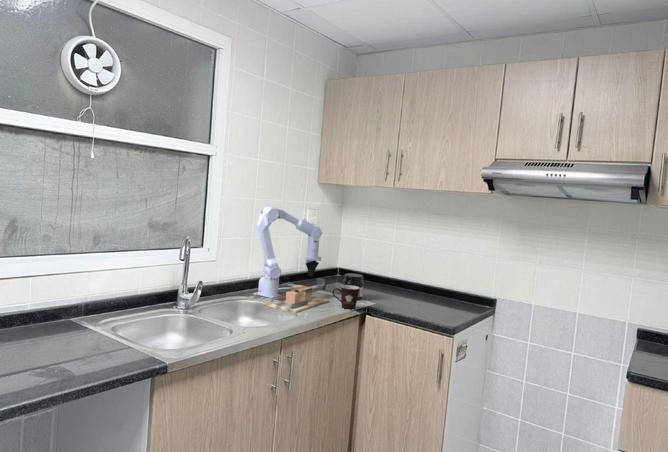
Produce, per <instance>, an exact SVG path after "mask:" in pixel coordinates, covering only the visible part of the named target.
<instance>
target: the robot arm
mask: <svg viewBox="0 0 668 452" xmlns="http://www.w3.org/2000/svg"><path fill="white" fill-rule="evenodd" d="M277 220H284V221H287V222H288V223H290V224H292V225H294V226H295V229H297V231H298V230H299V231H300V232H302V233H304V234H306V235H308V237H307V238H308V239H307V249H306V257H305V258H303V259H302V264H305V267H306V268H307V275H308V276H309V277H314V274H315V272H316V270H317V267H318V265H319V264H320V263H319V262H321V261H322V257H321V256H319V248H320V239H321V236H322V234H323V232H322V230H321V227H318V226H316V225H315V224H314V223H311V222H309V221H307V219H306V218H299V219H298V218H297V217H295V216H294V215H292V214H290V213H288V212H287V211H284V210H282V209H279V208H277V207H274V206H270V205H267V206H264V207H263V208H261V211H260V212H259V217H258V220H257V225H256V227H257V231H258V236H259V240H260V244H261V251H262V253H263V254H262V255H263V258H264V261H263V265H264V267H263V272H264V276H262V277H260V279H259V281H258V292H257V293H256V295H258V296H261V297H266V298H271V299H275V298H279V297H283V296H282V294H279V286H280V277H281V275H282V269H281V268H280V267H279V264H278V261H277V259H276V258H275V252H274V248H273V243H272V238H271V234H270V229H269V227H270V226H271V224H272V223H274V222H275V221H277Z"/></svg>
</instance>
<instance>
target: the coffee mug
mask: <svg viewBox="0 0 668 452" xmlns="http://www.w3.org/2000/svg"><path fill="white" fill-rule="evenodd" d="M335 291H339V293H340V296H341V299H340V298H339V297H337V296H336V294H335ZM358 293H359V287H357V286H352V285H343V284H342V285H341V286H340V289H339V288H338V287H337V288H334V289H333V290H332V295H333V297H334V298H336V299H337V300H338V301H339V302H340V303H341V309H342V308H344V309H343V310H345V309H355V310H356V306H357V304H358V303H357V302H358V300H357V298H358Z"/></svg>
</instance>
